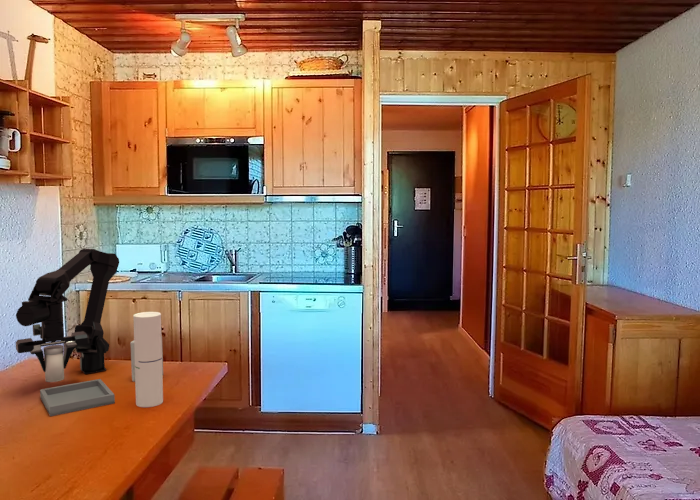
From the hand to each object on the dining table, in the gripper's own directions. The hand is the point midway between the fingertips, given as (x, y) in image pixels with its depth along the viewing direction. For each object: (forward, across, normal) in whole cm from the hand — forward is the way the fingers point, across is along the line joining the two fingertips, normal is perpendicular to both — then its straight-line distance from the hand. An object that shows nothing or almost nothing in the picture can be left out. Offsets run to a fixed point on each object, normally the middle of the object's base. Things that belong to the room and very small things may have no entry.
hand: (54, 370), depth 166 cm
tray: (+5, -3, +15) cm, 16 cm away
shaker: (+3, 0, 0) cm, 3 cm away
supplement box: (+6, -25, +7) cm, 27 cm away
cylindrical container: (+6, -19, +28) cm, 34 cm away
